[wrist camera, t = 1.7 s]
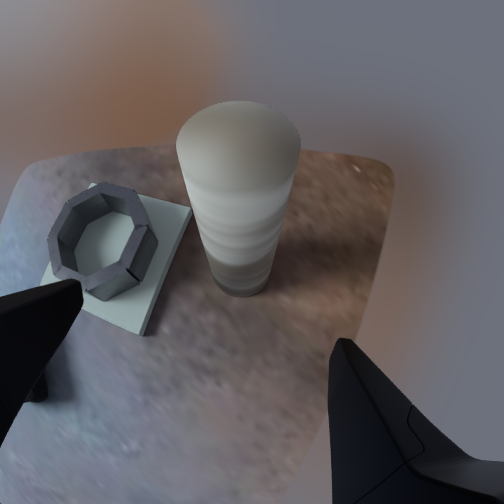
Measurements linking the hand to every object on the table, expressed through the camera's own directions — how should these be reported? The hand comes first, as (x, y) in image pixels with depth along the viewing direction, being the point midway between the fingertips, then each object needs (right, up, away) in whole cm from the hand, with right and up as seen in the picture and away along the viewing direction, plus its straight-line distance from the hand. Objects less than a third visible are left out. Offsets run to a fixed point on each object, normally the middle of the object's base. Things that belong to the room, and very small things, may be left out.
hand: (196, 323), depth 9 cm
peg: (+1, +1, +14) cm, 14 cm away
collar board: (-10, +2, +14) cm, 18 cm away
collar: (-10, +2, +14) cm, 18 cm away
